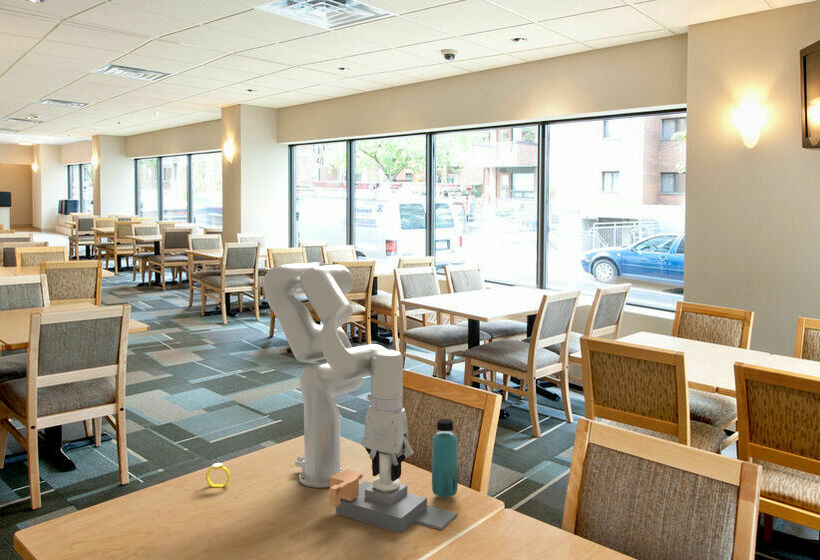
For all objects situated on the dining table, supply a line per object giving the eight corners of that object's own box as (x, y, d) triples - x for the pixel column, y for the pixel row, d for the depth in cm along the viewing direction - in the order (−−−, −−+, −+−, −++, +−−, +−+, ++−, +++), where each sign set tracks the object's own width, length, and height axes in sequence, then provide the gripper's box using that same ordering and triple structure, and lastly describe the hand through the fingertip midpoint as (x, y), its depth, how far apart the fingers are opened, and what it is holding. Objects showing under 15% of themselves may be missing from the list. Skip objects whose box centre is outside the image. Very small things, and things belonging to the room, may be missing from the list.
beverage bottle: (455, 504, 156) (457, 425, 154) (429, 501, 158) (430, 423, 155) (459, 493, 163) (460, 417, 160) (433, 490, 164) (434, 415, 162)
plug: (367, 497, 152) (367, 449, 151) (382, 487, 157) (382, 441, 156) (390, 503, 149) (390, 455, 147) (404, 493, 154) (405, 446, 153)
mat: (410, 521, 148) (410, 518, 148) (427, 507, 155) (427, 505, 155) (441, 530, 144) (441, 527, 144) (456, 515, 151) (456, 513, 151)
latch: (315, 504, 147) (315, 483, 147) (343, 486, 157) (343, 466, 156) (336, 510, 144) (336, 489, 144) (363, 492, 154) (364, 472, 153)
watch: (205, 489, 164) (203, 467, 163) (209, 485, 167) (207, 463, 166) (228, 488, 164) (226, 466, 163) (232, 483, 167) (229, 461, 166)
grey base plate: (336, 513, 151) (336, 491, 151) (364, 494, 161) (364, 473, 161) (400, 533, 142) (401, 509, 142) (426, 511, 152) (427, 489, 152)
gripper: (348, 400, 152) (348, 474, 154) (409, 412, 143) (408, 490, 145) (366, 393, 158) (366, 464, 160) (425, 404, 150) (424, 478, 152)
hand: (386, 475), depth 153 cm, fingers open, 4 cm apart
